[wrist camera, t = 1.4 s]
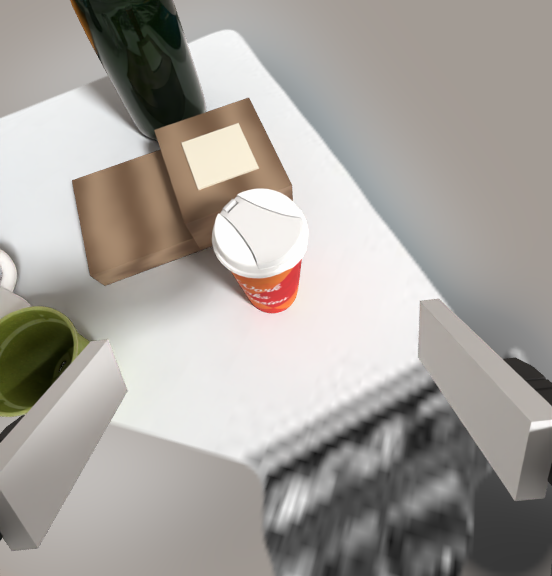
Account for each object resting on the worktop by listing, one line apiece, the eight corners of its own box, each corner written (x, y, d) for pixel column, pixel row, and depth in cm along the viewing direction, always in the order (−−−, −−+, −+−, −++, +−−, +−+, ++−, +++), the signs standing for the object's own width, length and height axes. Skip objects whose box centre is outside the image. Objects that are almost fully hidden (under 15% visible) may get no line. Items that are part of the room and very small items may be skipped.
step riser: (104, 285, 41) (72, 263, 35) (85, 195, 46) (54, 162, 40) (293, 216, 43) (291, 183, 37) (255, 135, 48) (248, 96, 42)
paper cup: (225, 294, 40) (187, 232, 27) (269, 247, 41) (253, 167, 28) (277, 337, 37) (263, 292, 24) (321, 285, 39) (330, 217, 26)
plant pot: (65, 320, 40) (5, 294, 32) (138, 342, 38) (95, 320, 30) (23, 403, 37) (-56, 397, 29) (101, 430, 35) (41, 432, 27)
